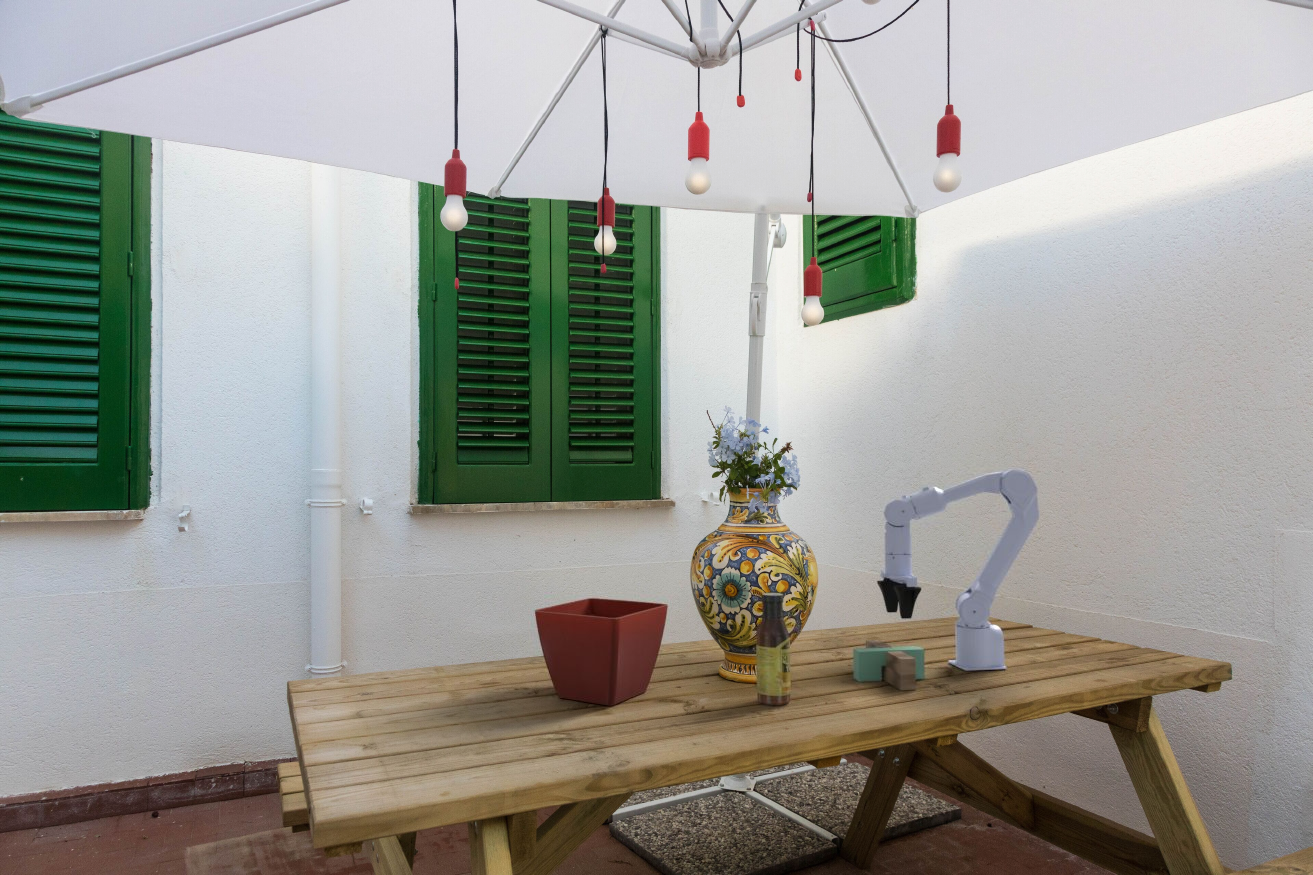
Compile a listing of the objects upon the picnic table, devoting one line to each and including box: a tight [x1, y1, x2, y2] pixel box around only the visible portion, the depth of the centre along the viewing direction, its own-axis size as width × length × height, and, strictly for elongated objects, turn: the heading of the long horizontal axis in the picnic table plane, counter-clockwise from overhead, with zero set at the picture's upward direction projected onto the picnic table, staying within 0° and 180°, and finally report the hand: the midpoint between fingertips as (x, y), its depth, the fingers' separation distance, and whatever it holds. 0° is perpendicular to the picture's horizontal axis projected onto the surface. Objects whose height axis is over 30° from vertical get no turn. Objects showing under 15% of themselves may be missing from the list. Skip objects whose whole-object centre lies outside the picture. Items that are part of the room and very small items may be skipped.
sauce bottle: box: [755, 592, 792, 706], centre depth 156 cm, size 6×6×20 cm
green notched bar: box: [852, 645, 926, 683], centre depth 173 cm, size 14×3×6 cm, turn 98°
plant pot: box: [534, 597, 669, 706], centre depth 162 cm, size 19×19×17 cm
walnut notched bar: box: [865, 639, 917, 691], centre depth 172 cm, size 18×3×6 cm, turn 8°
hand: (898, 615), depth 187 cm, fingers open, 7 cm apart
